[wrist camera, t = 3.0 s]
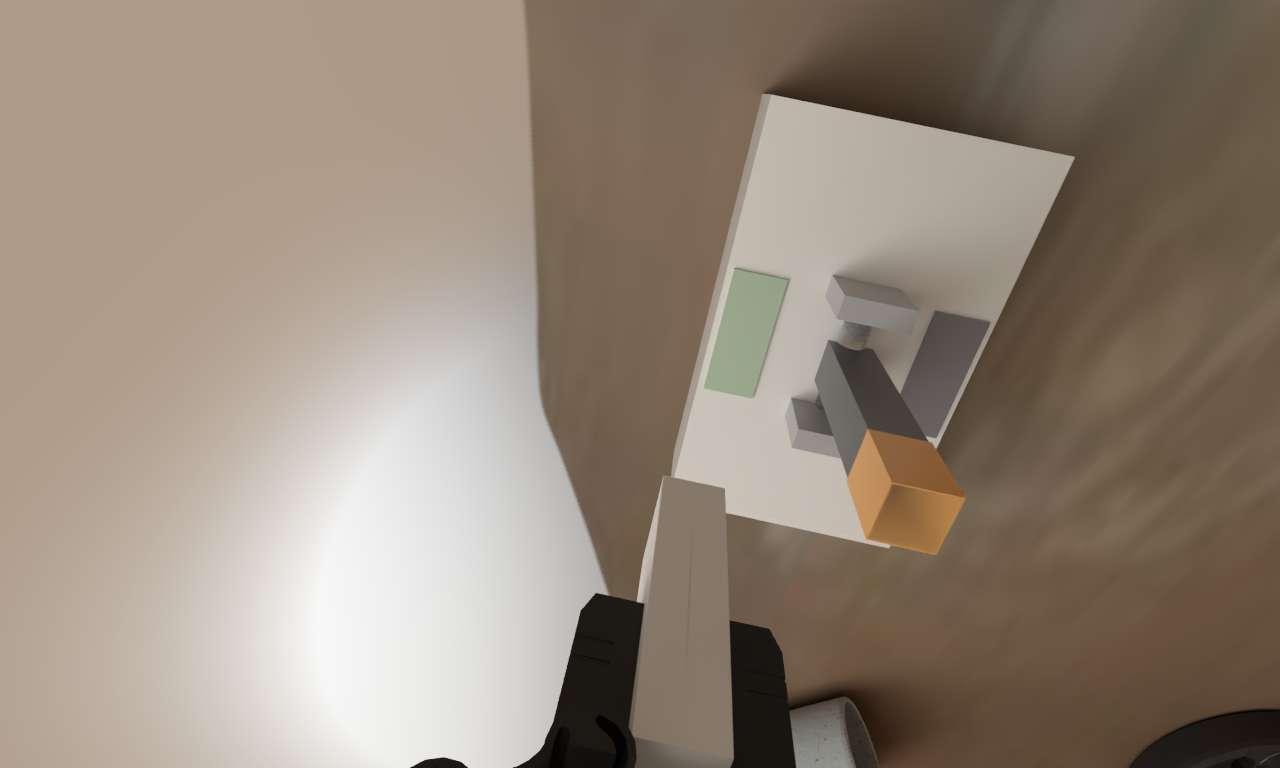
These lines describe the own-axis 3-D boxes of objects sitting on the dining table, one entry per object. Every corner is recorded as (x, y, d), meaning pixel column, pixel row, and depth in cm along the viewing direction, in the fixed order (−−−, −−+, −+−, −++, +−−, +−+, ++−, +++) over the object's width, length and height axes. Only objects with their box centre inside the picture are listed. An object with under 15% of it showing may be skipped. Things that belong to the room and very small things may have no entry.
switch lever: (847, 405, 29) (921, 583, 19) (803, 396, 29) (852, 568, 19) (880, 319, 27) (983, 464, 17) (833, 309, 27) (907, 447, 17)
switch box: (868, 492, 37) (904, 589, 30) (673, 450, 37) (664, 536, 30) (1018, 145, 28) (1120, 165, 21) (762, 93, 29) (778, 95, 21)
